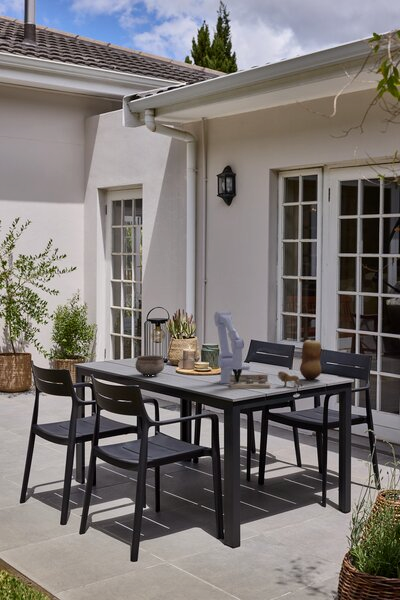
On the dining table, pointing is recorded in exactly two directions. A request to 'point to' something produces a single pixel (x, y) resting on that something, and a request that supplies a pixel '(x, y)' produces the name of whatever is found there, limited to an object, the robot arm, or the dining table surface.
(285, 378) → the lion figurine
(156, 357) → the brown footed bowl
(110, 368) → the dining table surface
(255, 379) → the button board
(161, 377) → the dining table surface
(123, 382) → the dining table surface
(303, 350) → the butternut squash
